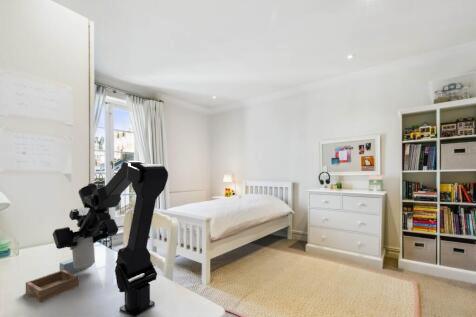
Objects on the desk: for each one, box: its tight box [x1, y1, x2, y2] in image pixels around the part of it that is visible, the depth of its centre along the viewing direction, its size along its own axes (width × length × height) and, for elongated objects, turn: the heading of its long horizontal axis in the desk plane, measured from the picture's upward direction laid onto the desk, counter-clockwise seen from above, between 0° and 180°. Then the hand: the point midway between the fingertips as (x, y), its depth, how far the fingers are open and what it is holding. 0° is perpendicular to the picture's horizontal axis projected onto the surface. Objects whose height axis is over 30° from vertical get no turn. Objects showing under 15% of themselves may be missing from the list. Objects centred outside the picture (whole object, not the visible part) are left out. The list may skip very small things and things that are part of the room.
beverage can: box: [71, 237, 96, 271], centre depth 84 cm, size 6×6×12 cm
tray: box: [25, 270, 80, 303], centre depth 73 cm, size 10×10×3 cm
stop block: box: [59, 258, 81, 274], centre depth 86 cm, size 3×8×4 cm, turn 150°
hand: (80, 246), depth 85 cm, fingers closed on beverage can, 6 cm apart
